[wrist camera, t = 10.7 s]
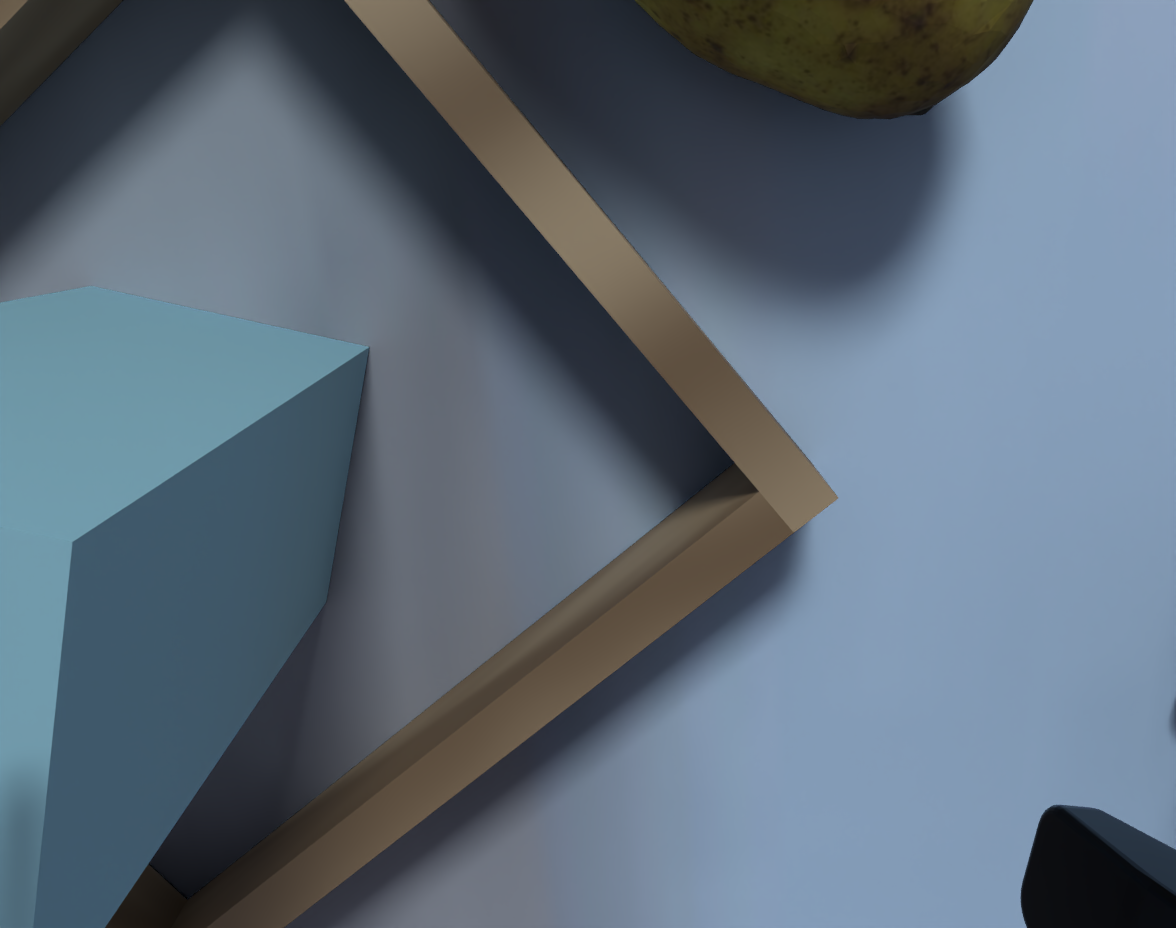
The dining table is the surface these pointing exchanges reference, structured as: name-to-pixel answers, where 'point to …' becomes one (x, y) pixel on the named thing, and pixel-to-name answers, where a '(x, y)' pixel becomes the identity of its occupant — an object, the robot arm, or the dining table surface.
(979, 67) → the potato
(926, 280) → the dining table surface
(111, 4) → the light wood flat frame
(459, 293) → the dining table surface
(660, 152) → the dining table surface
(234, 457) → the milk carton
